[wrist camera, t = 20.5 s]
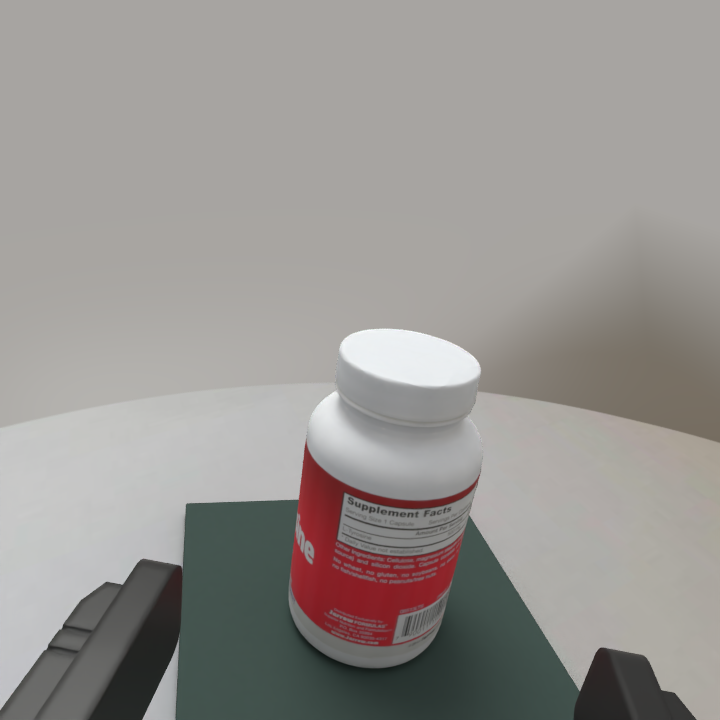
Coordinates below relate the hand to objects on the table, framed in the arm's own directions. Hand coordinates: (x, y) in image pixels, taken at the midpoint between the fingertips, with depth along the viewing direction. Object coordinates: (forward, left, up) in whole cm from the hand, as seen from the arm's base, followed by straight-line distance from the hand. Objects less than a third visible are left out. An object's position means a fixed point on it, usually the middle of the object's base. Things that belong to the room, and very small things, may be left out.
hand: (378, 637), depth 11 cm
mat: (-9, +3, -9) cm, 13 cm away
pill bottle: (-9, +3, -9) cm, 13 cm away
